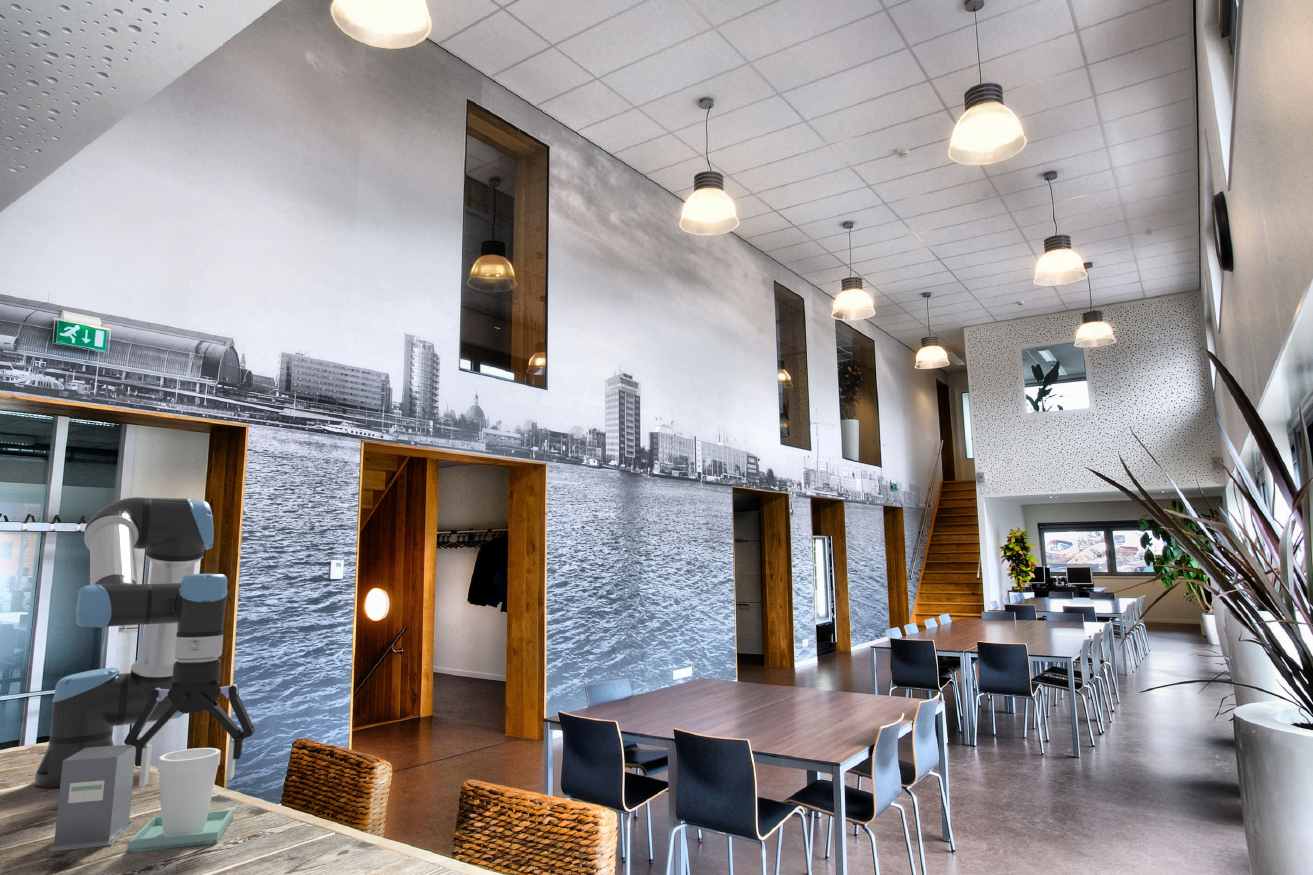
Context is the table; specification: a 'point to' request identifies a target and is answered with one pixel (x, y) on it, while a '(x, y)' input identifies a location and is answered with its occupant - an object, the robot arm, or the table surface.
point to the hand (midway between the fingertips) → (187, 781)
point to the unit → (94, 797)
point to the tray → (154, 839)
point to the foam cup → (187, 789)
